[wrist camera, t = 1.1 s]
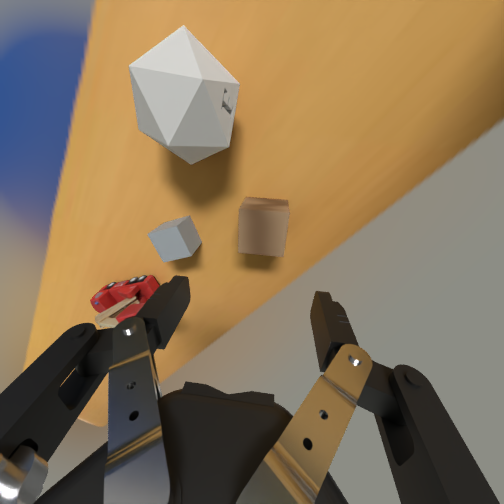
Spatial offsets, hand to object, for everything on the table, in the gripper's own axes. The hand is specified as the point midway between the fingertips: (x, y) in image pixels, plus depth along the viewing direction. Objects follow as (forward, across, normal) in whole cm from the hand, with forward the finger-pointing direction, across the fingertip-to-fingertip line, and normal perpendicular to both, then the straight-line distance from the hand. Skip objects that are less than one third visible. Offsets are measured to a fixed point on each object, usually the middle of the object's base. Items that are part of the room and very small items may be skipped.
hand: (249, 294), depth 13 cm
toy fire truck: (+15, +19, +13) cm, 27 cm away
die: (+15, +7, -11) cm, 20 cm away
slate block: (+15, +11, +3) cm, 18 cm away
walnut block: (+15, 0, 0) cm, 15 cm away
